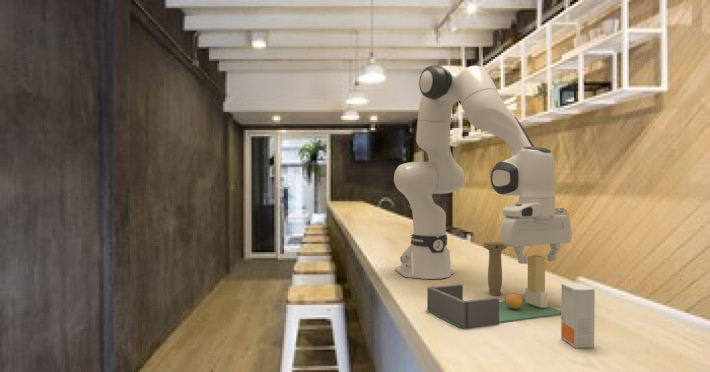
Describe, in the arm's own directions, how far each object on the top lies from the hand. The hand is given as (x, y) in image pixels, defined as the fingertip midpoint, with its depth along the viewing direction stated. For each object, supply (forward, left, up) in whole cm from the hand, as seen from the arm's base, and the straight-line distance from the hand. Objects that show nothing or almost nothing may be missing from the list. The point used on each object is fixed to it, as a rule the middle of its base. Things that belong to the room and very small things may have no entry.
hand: (537, 262), depth 131 cm
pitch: (0, -13, -12) cm, 17 cm away
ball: (0, -7, -10) cm, 12 cm away
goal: (0, -22, -12) cm, 25 cm away
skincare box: (+25, -11, -12) cm, 30 cm away
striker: (0, 0, -12) cm, 12 cm away
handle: (-16, -1, -12) cm, 20 cm away
